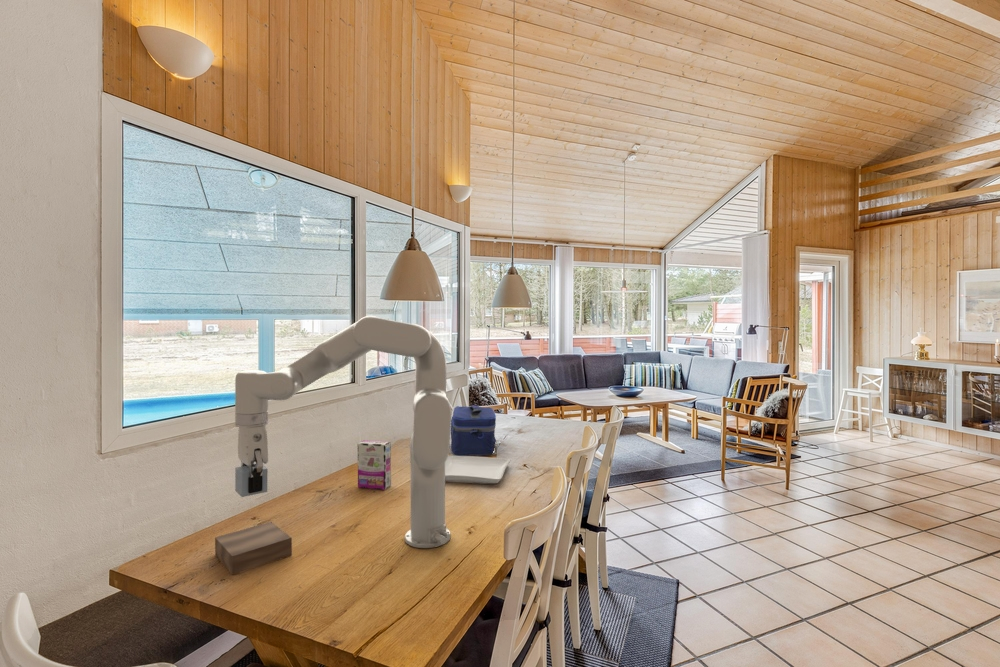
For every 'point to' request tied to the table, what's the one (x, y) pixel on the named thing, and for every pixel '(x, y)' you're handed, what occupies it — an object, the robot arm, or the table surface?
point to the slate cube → (242, 481)
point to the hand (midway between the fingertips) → (251, 487)
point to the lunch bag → (473, 431)
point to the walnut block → (252, 547)
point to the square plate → (474, 469)
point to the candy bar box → (374, 465)
